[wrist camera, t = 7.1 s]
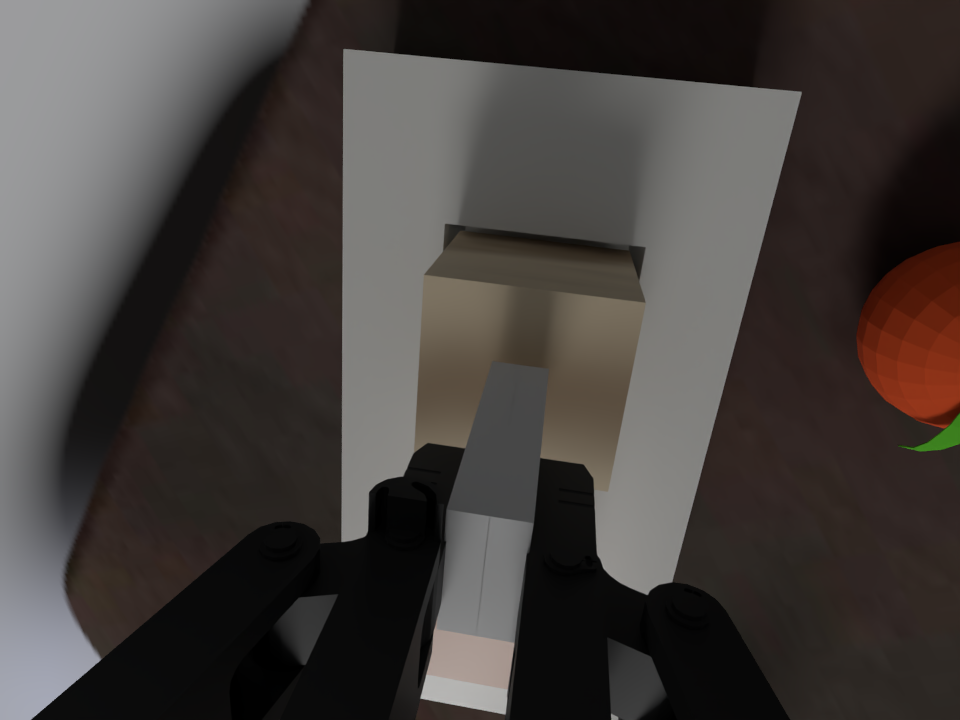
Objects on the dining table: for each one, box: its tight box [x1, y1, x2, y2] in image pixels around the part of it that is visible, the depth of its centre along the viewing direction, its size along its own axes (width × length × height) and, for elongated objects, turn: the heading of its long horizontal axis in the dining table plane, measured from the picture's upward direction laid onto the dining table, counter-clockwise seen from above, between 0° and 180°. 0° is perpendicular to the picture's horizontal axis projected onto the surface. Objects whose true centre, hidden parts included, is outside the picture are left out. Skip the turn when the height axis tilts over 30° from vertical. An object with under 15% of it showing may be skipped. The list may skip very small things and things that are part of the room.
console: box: [342, 49, 802, 720], centre depth 28 cm, size 28×14×6 cm, turn 175°
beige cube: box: [414, 231, 646, 492], centre depth 21 cm, size 6×6×6 cm
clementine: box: [857, 242, 960, 451], centre depth 24 cm, size 8×7×7 cm
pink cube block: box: [426, 617, 514, 689], centre depth 27 cm, size 6×6×6 cm
